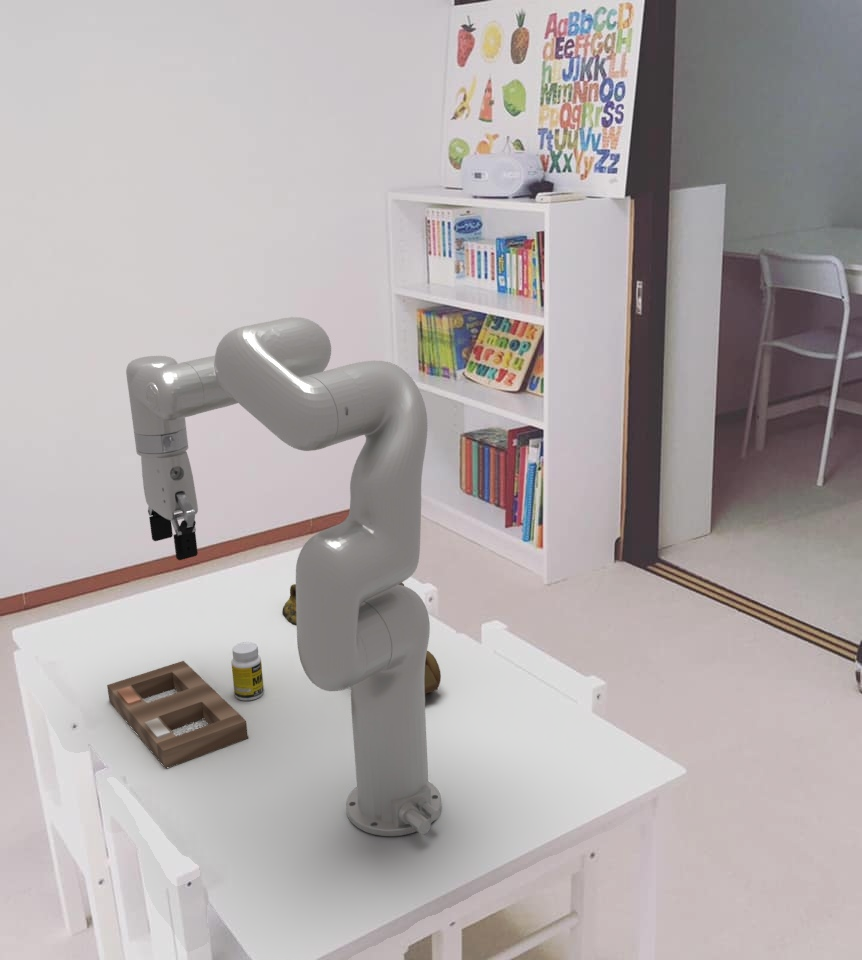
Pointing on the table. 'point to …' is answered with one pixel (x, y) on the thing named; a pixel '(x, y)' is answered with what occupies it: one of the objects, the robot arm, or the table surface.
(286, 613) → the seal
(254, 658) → the supplement bottle
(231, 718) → the socket block
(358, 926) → the table surface
